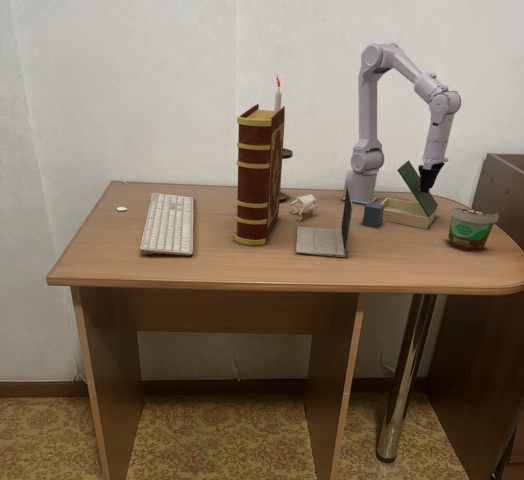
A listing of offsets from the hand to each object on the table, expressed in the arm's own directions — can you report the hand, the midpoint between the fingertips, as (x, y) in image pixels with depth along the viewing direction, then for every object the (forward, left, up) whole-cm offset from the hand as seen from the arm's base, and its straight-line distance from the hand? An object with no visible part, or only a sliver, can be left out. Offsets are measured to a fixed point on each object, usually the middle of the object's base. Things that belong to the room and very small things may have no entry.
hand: (426, 189), depth 149 cm
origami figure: (-31, -16, -9) cm, 36 cm away
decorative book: (-37, -34, -9) cm, 51 cm away
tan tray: (-4, 0, -9) cm, 10 cm away
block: (-11, -11, -9) cm, 18 cm away
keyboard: (-59, -44, -9) cm, 74 cm away
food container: (+15, -15, -9) cm, 23 cm away
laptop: (-19, -33, -9) cm, 39 cm away
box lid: (-2, 0, 0) cm, 2 cm away
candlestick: (-46, -6, -9) cm, 47 cm away
